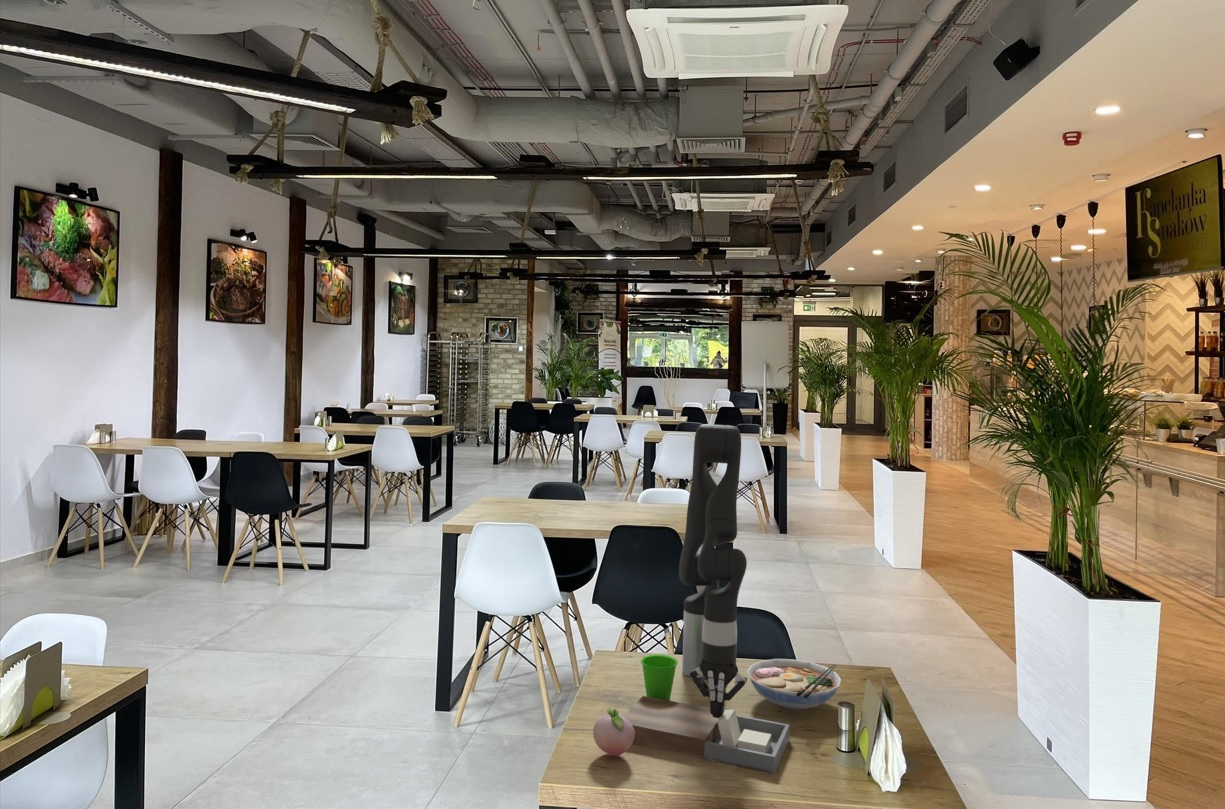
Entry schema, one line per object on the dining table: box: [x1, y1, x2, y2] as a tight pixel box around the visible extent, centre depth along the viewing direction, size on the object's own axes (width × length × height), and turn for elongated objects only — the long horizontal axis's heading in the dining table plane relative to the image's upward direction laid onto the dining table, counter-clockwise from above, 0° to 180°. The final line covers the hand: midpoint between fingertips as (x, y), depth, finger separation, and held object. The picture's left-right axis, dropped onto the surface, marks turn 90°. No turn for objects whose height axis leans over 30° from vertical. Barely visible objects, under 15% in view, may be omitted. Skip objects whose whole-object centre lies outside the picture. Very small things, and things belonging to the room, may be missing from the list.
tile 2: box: [738, 729, 771, 753], centre depth 173 cm, size 6×6×2 cm
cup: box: [640, 654, 678, 701], centre depth 195 cm, size 9×9×11 cm
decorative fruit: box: [592, 708, 635, 757], centre depth 169 cm, size 9×8×10 cm
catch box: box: [703, 714, 791, 775], centre depth 173 cm, size 17×15×4 cm
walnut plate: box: [623, 695, 720, 759], centre depth 180 cm, size 16×20×4 cm
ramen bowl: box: [746, 658, 842, 711], centre depth 198 cm, size 25×23×8 cm
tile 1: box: [717, 708, 741, 747], centre depth 175 cm, size 6×6×2 cm
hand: (716, 716), depth 176 cm, fingers closed
